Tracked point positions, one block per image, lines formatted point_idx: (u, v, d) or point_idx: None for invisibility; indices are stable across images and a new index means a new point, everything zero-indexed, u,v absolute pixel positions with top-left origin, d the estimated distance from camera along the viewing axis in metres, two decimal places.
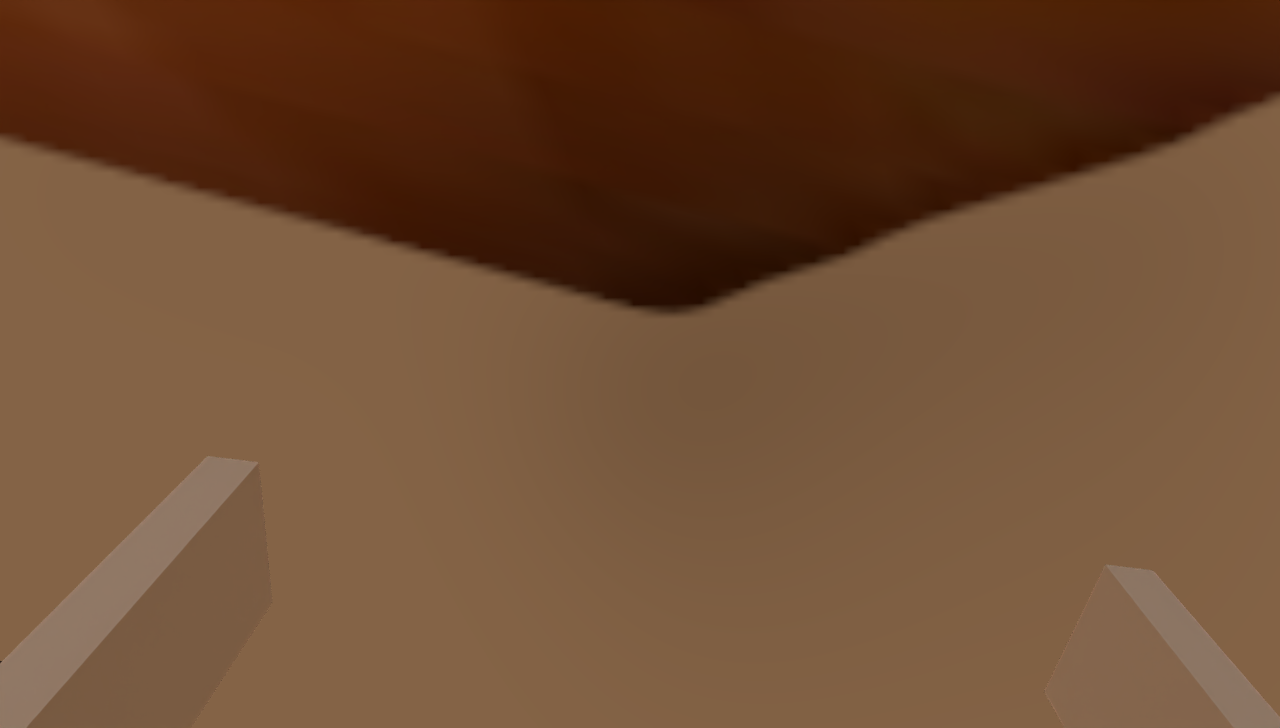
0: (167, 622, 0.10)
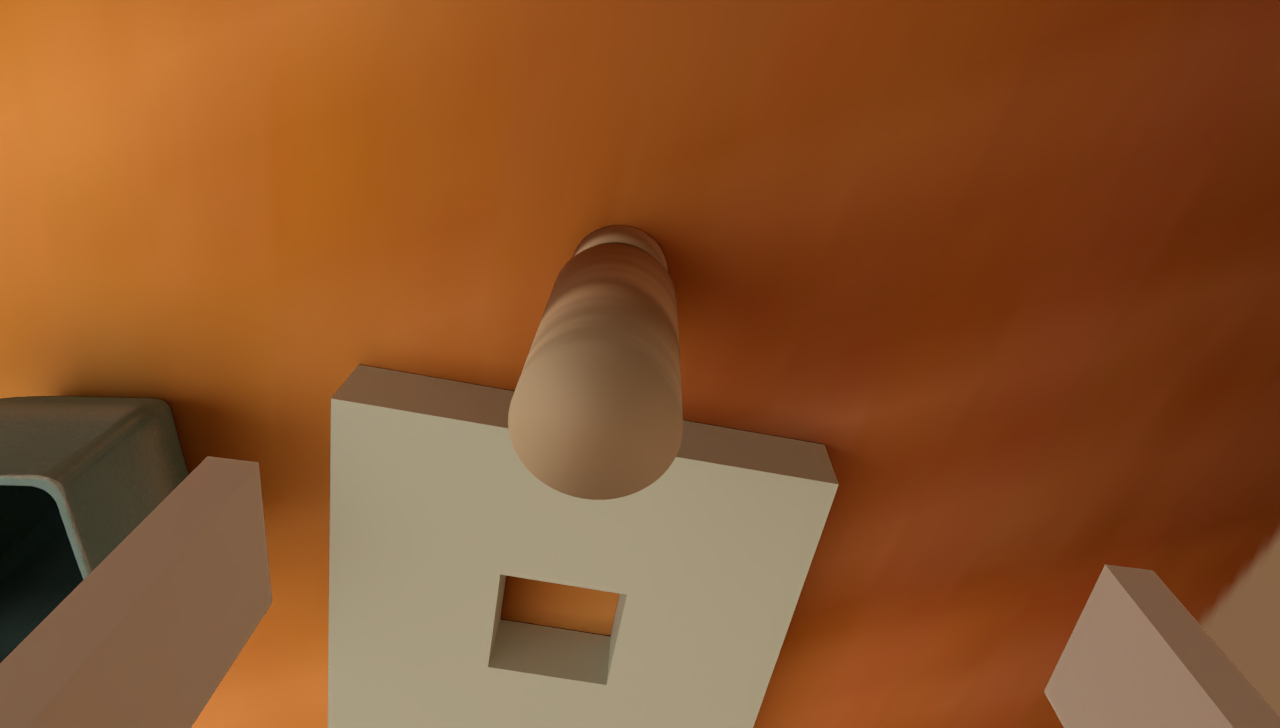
0: (168, 622, 0.10)
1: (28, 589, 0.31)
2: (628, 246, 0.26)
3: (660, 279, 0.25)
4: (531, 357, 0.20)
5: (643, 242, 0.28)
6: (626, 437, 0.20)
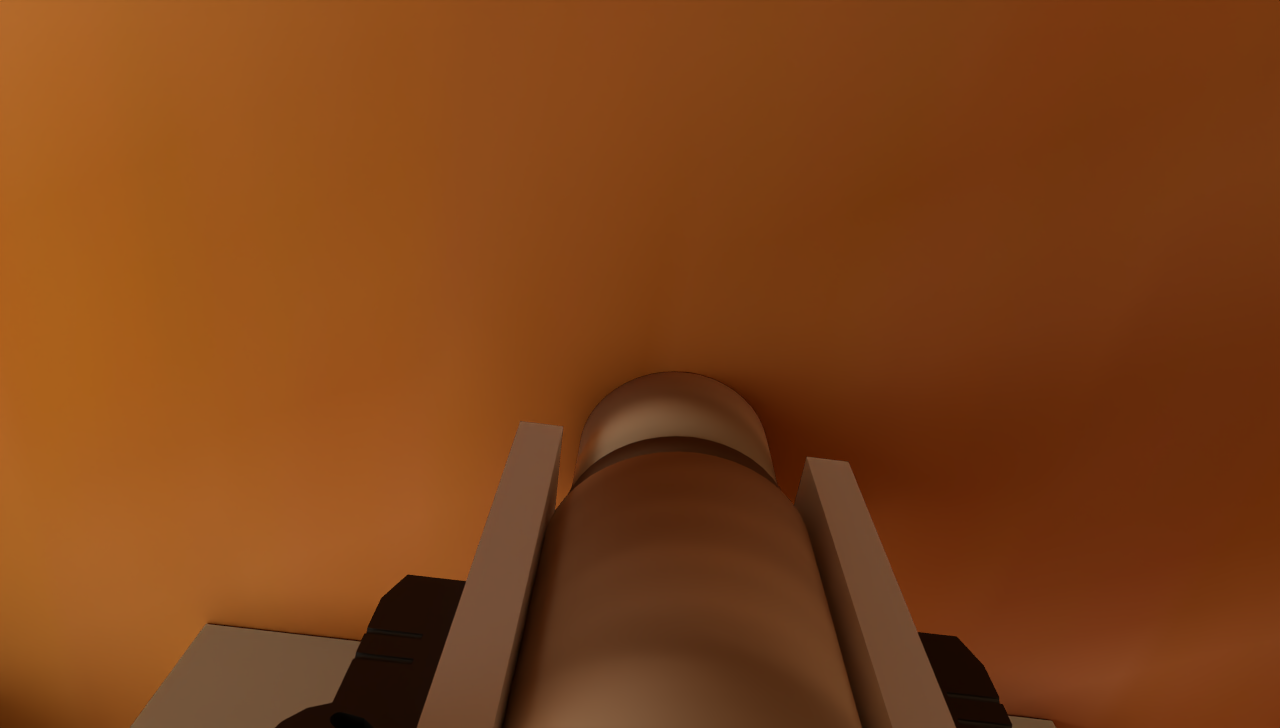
0: (540, 552, 0.12)
1: None
2: (705, 459, 0.12)
3: (794, 558, 0.10)
4: None
5: (726, 417, 0.14)
6: None
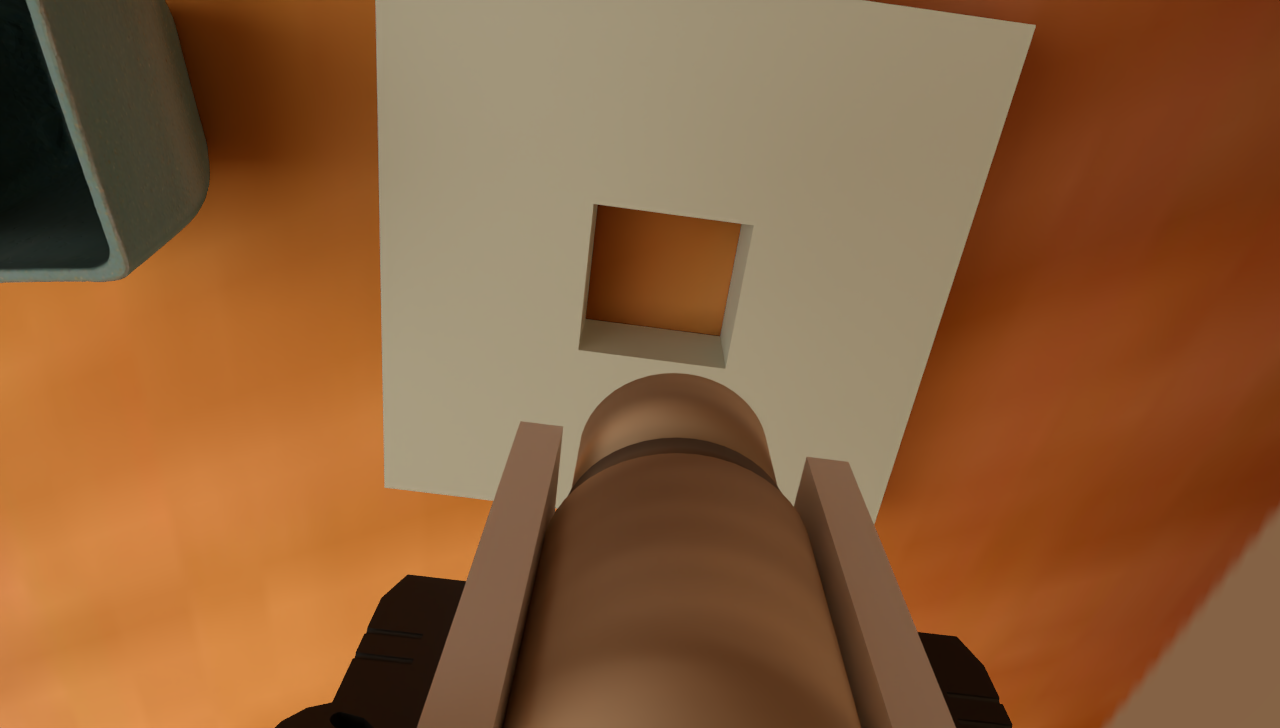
0: (540, 552, 0.12)
1: (6, 226, 0.25)
2: (704, 461, 0.12)
3: (794, 560, 0.10)
4: None
5: (726, 418, 0.14)
6: None
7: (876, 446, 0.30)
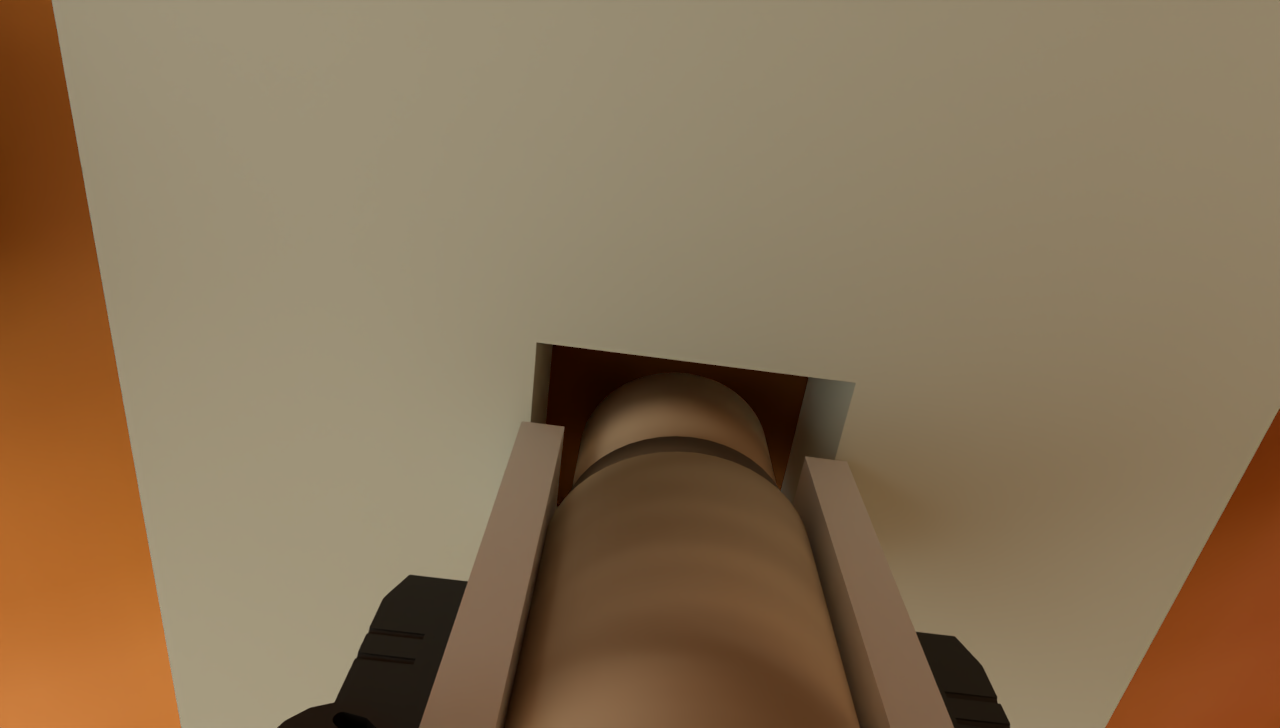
0: (541, 552, 0.12)
1: None
2: (704, 459, 0.12)
3: (792, 557, 0.10)
4: None
5: (725, 417, 0.14)
6: None
7: None
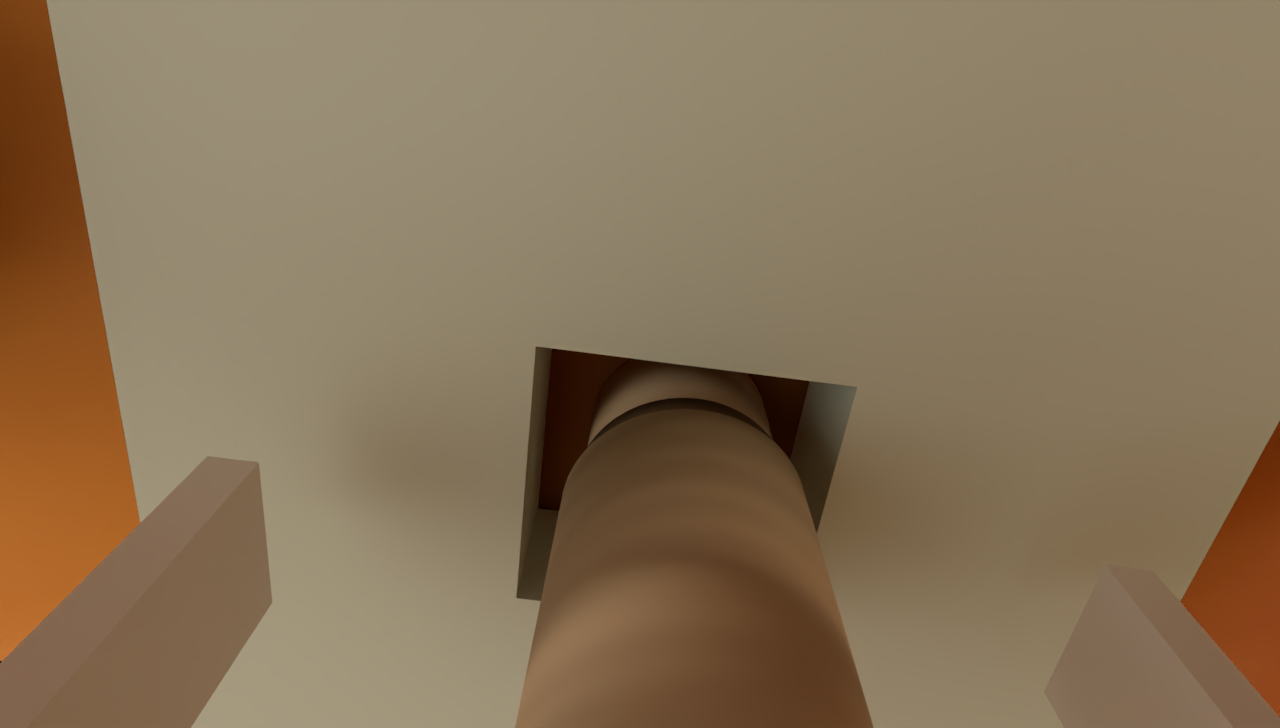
0: (167, 622, 0.10)
1: None
2: (709, 415, 0.13)
3: (788, 497, 0.12)
4: None
5: (727, 383, 0.15)
6: None
7: None
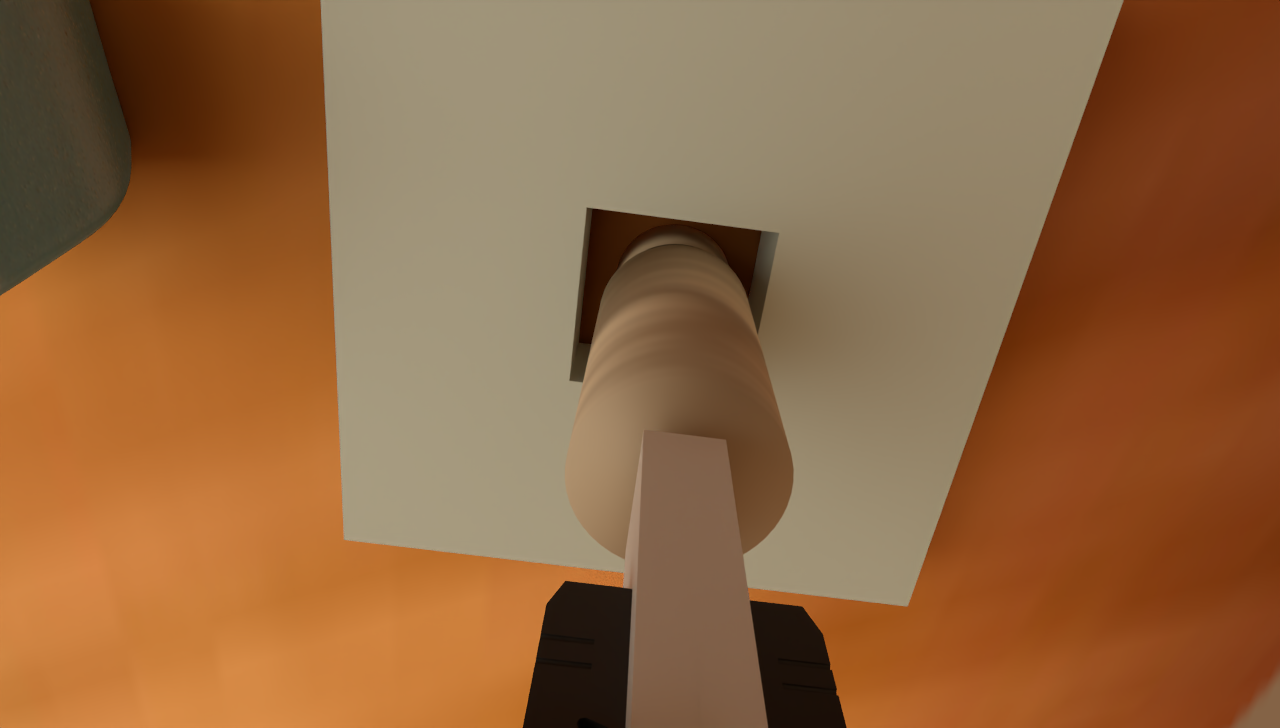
0: None
1: None
2: (689, 247, 0.22)
3: (733, 285, 0.21)
4: (589, 392, 0.15)
5: (703, 243, 0.24)
6: None
7: (920, 492, 0.26)
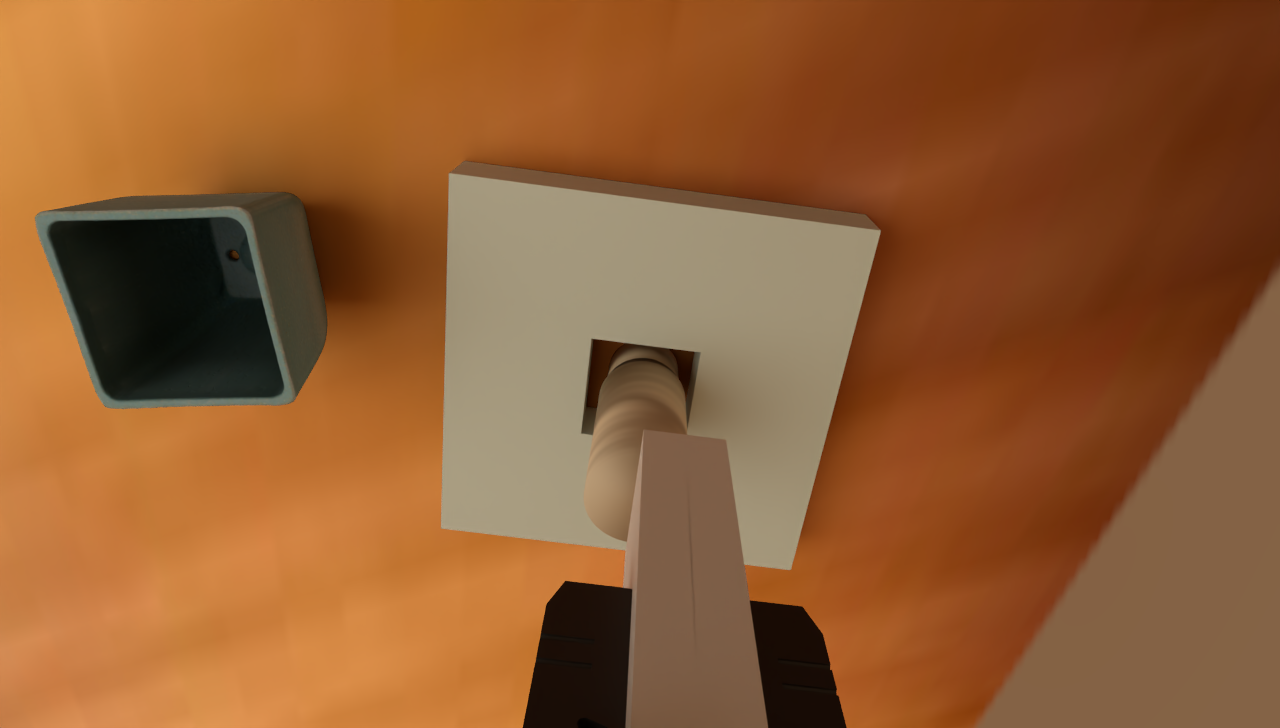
0: None
1: (198, 359, 0.37)
2: (649, 362, 0.38)
3: (672, 387, 0.37)
4: (595, 457, 0.32)
5: (659, 353, 0.41)
6: None
7: (792, 499, 0.42)
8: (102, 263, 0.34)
